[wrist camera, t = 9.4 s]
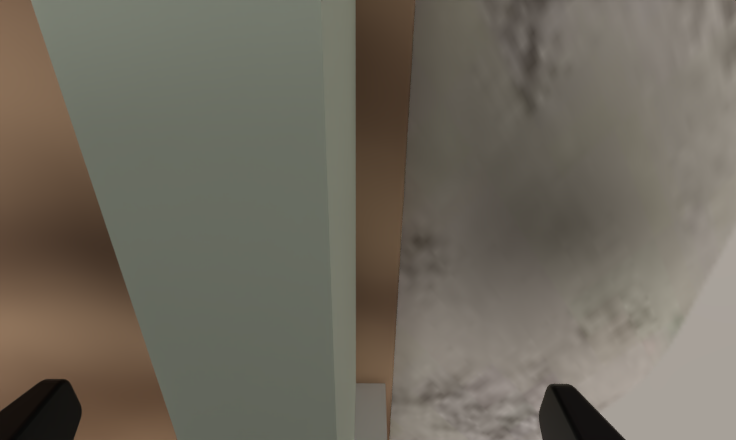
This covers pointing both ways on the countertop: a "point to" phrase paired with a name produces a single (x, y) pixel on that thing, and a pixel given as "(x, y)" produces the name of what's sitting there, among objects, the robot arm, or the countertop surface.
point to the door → (228, 201)
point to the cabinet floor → (96, 253)
